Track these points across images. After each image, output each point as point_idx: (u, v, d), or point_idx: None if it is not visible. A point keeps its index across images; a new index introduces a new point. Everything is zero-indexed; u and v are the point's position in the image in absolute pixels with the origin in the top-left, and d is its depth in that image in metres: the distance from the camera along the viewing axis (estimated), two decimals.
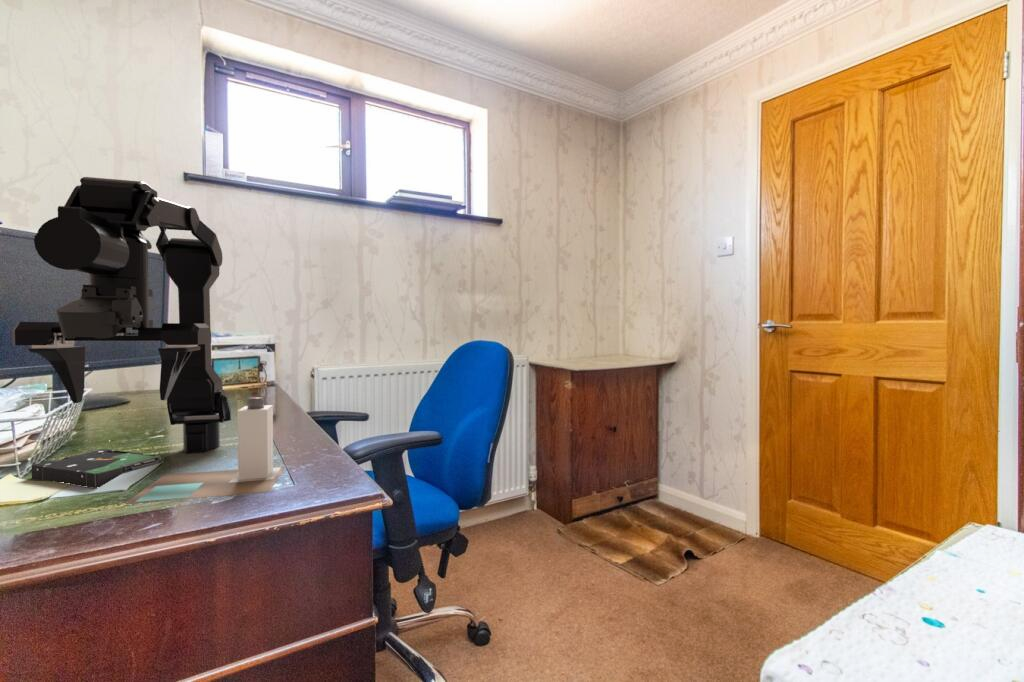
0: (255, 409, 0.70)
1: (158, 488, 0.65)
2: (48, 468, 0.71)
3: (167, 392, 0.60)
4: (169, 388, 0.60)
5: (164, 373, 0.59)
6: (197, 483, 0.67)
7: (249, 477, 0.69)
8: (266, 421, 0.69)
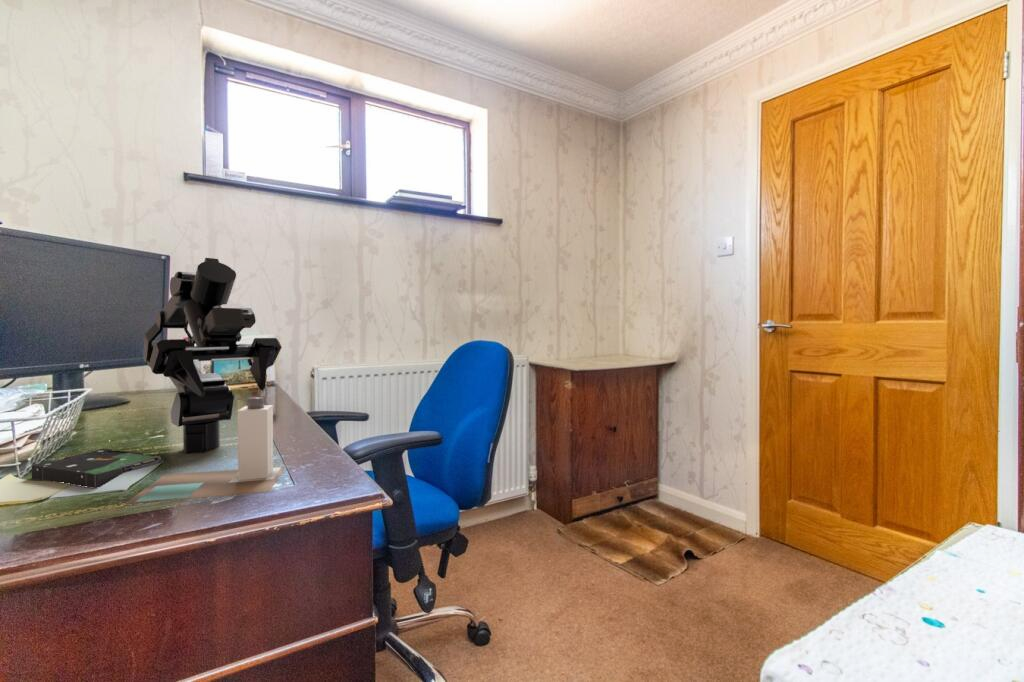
0: (255, 409, 0.70)
1: (158, 488, 0.65)
2: (48, 468, 0.71)
3: None
4: None
5: (262, 368, 0.81)
6: (197, 483, 0.67)
7: (249, 477, 0.69)
8: (266, 421, 0.69)
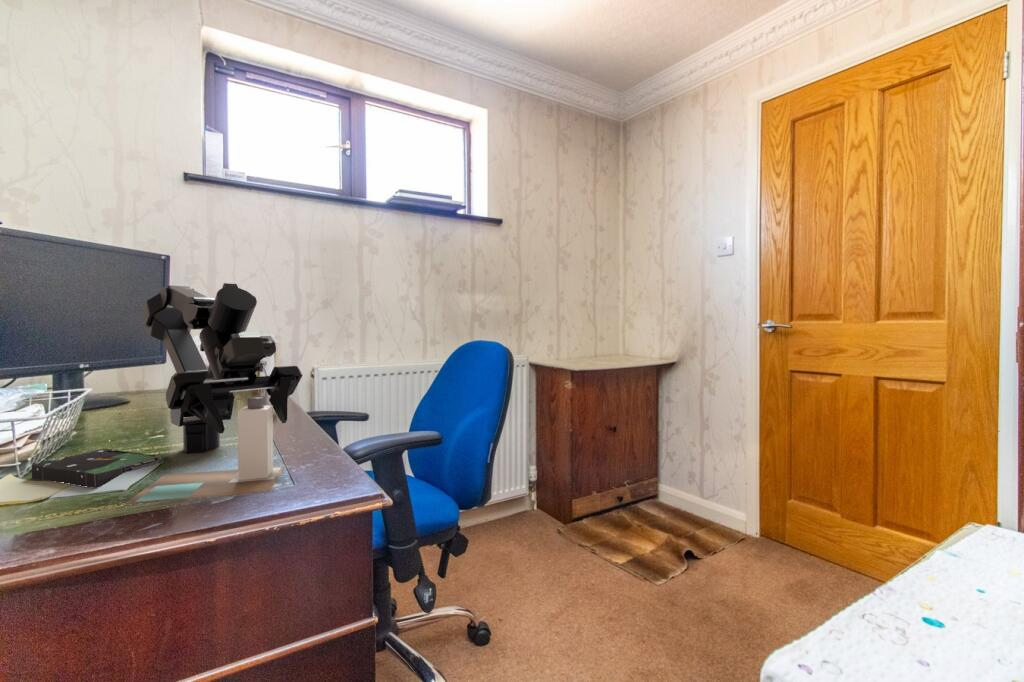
0: (255, 409, 0.70)
1: (158, 488, 0.65)
2: (48, 468, 0.71)
3: None
4: None
5: (283, 399, 0.76)
6: (197, 483, 0.67)
7: (249, 477, 0.69)
8: (266, 421, 0.69)
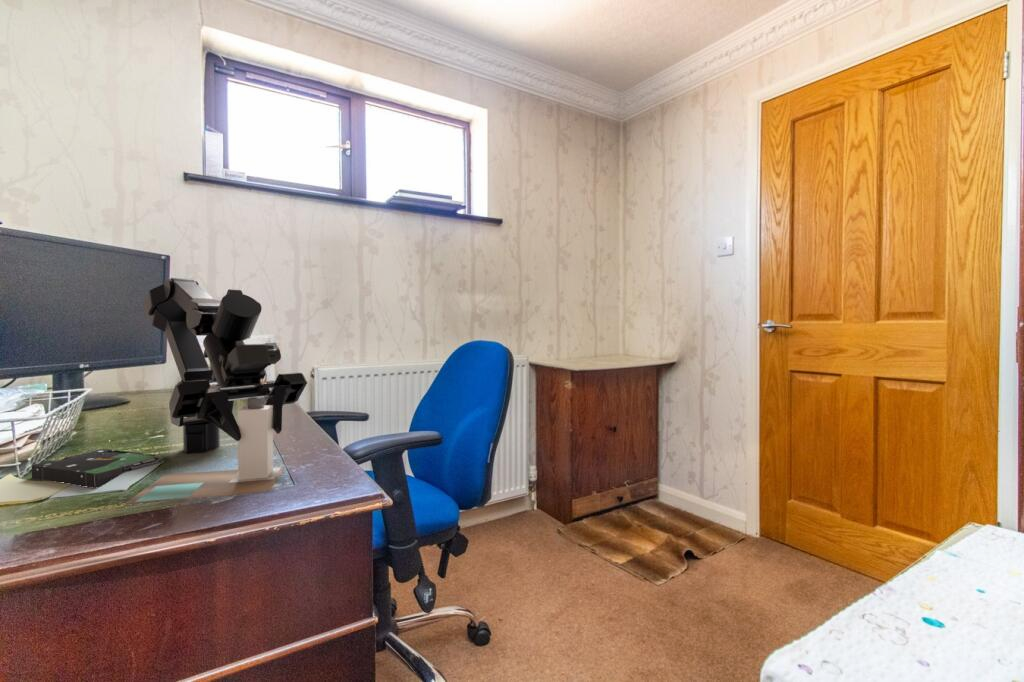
0: (255, 409, 0.70)
1: (158, 488, 0.65)
2: (48, 468, 0.71)
3: None
4: None
5: (277, 409, 0.74)
6: (197, 483, 0.67)
7: (249, 477, 0.69)
8: (266, 421, 0.69)
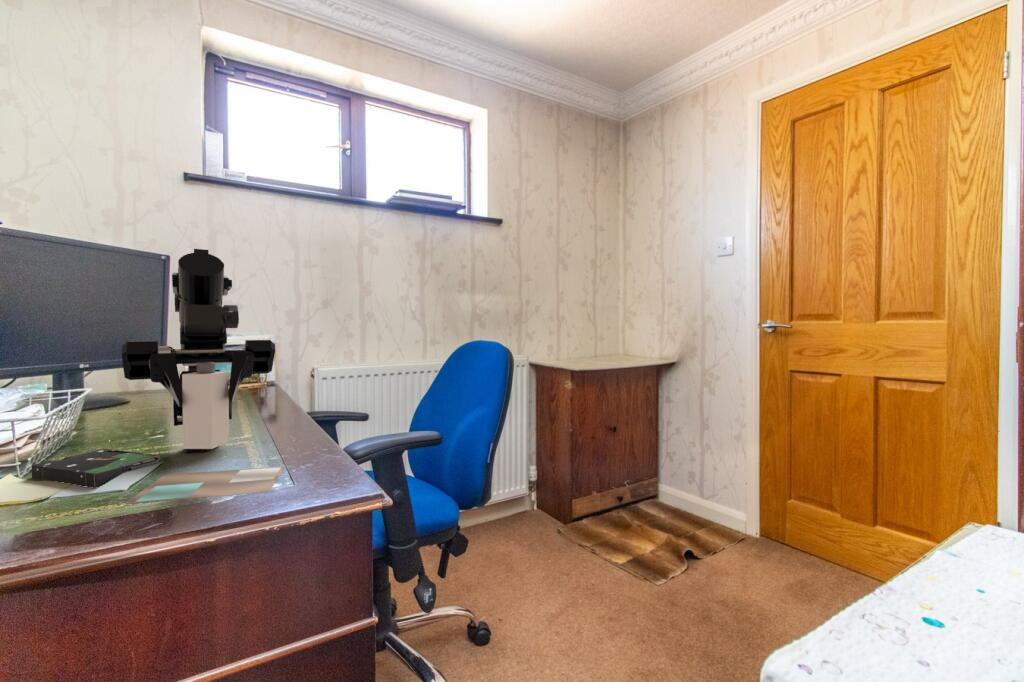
0: (201, 373, 0.64)
1: (158, 488, 0.65)
2: (48, 468, 0.71)
3: (234, 394, 0.67)
4: (235, 392, 0.67)
5: (233, 376, 0.68)
6: (197, 483, 0.67)
7: (194, 447, 0.64)
8: (210, 387, 0.64)
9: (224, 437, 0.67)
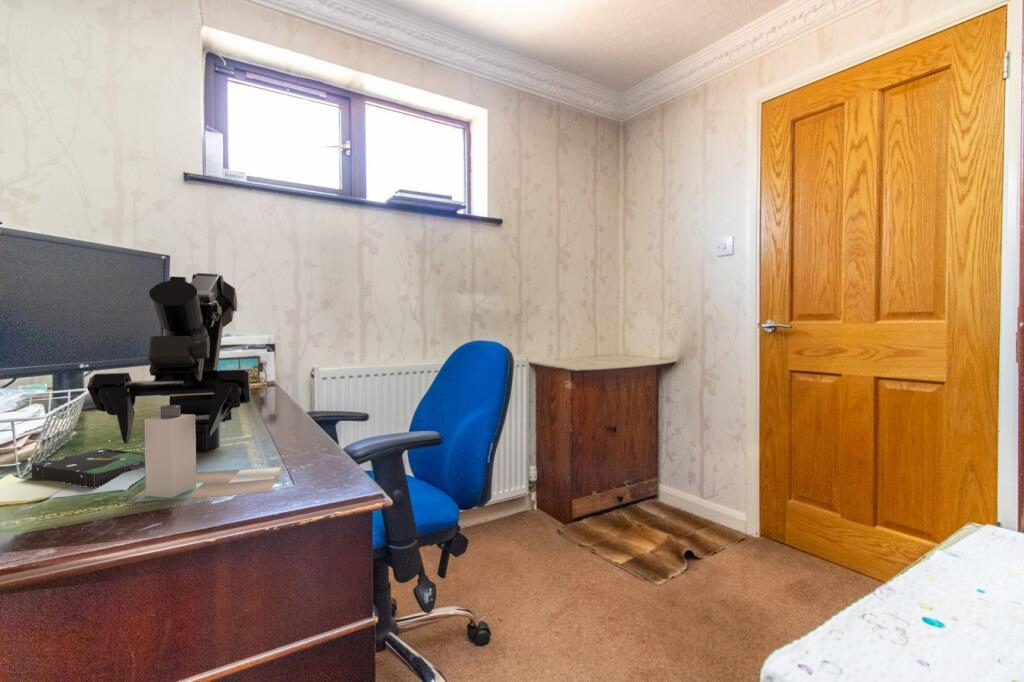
0: (163, 418, 0.62)
1: None
2: (48, 468, 0.71)
3: (212, 428, 0.65)
4: (214, 425, 0.65)
5: (214, 408, 0.66)
6: (197, 483, 0.67)
7: (155, 494, 0.62)
8: (170, 433, 0.61)
9: (189, 483, 0.64)
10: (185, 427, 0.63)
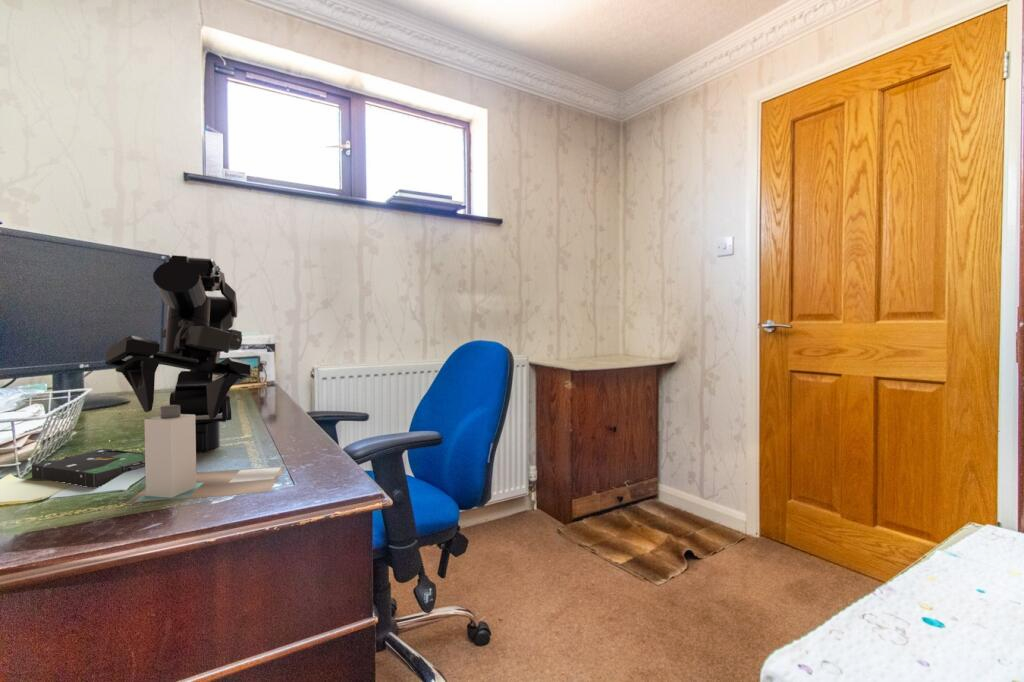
0: (163, 418, 0.62)
1: None
2: (48, 468, 0.71)
3: None
4: None
5: (221, 395, 0.75)
6: (197, 483, 0.67)
7: (155, 494, 0.62)
8: (170, 433, 0.61)
9: (189, 483, 0.64)
10: (185, 427, 0.63)
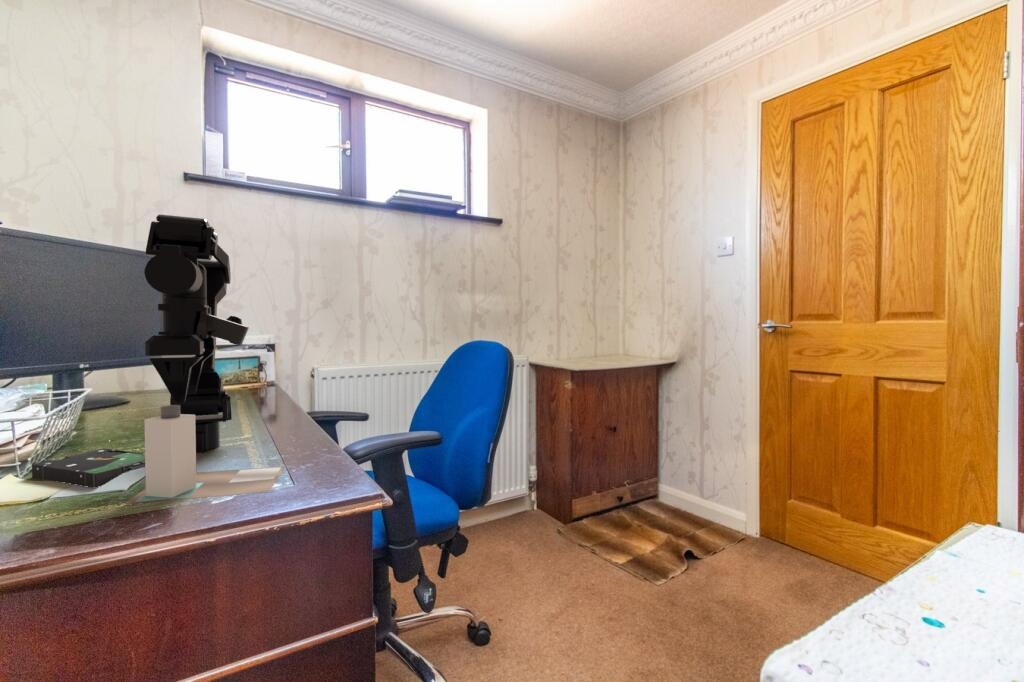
0: (163, 418, 0.62)
1: None
2: (48, 467, 0.71)
3: None
4: None
5: (200, 372, 0.76)
6: (197, 483, 0.67)
7: (155, 494, 0.62)
8: (170, 433, 0.61)
9: (189, 483, 0.64)
10: (185, 427, 0.63)
